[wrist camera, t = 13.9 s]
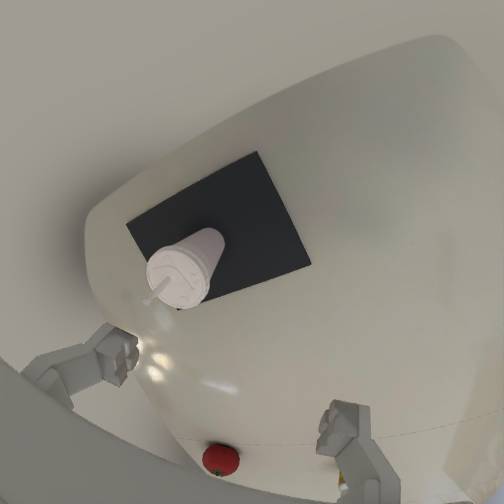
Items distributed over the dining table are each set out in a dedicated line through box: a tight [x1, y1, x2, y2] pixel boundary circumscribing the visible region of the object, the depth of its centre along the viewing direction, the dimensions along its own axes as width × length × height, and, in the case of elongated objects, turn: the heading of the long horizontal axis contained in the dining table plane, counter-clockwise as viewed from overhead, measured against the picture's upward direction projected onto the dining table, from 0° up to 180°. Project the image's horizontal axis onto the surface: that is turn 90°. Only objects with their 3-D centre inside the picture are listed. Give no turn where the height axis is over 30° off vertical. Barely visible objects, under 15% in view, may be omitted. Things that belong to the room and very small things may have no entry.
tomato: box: [202, 445, 240, 477], centre depth 54 cm, size 8×8×7 cm
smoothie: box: [144, 228, 225, 309], centre depth 30 cm, size 6×6×14 cm
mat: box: [126, 151, 311, 310], centre depth 37 cm, size 20×14×1 cm
